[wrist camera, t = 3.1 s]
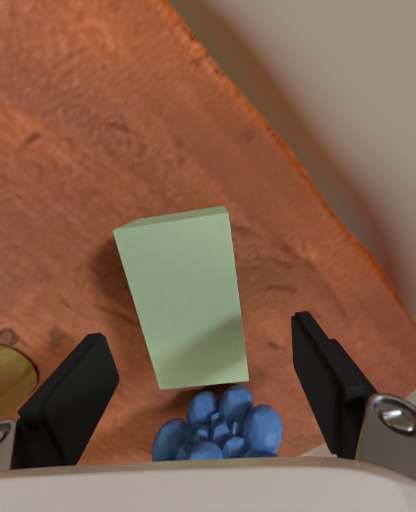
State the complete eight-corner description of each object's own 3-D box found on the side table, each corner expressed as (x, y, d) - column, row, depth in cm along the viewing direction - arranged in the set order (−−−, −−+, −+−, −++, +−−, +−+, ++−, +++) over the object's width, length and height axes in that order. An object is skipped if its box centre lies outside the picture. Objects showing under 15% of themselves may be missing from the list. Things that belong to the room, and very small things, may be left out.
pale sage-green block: (137, 218, 15) (111, 230, 11) (224, 205, 14) (228, 212, 10) (170, 347, 18) (159, 390, 14) (241, 339, 18) (249, 381, 14)
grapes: (170, 437, 22) (123, 719, 10) (139, 391, 20) (39, 675, 8) (281, 408, 20) (373, 703, 9) (259, 355, 18) (341, 645, 7)
